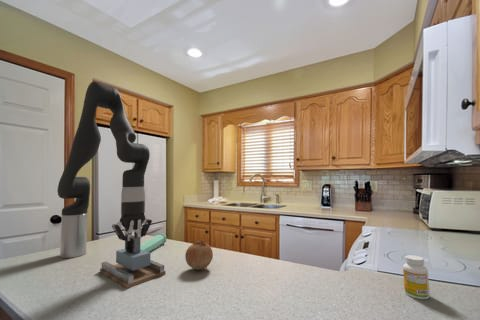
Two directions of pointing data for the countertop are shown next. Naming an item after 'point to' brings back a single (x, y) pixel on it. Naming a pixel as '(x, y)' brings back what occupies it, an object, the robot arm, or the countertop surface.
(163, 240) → the mint green cylinder
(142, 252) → the blue block with handle
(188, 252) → the onion
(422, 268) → the supplement bottle
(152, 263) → the tray
